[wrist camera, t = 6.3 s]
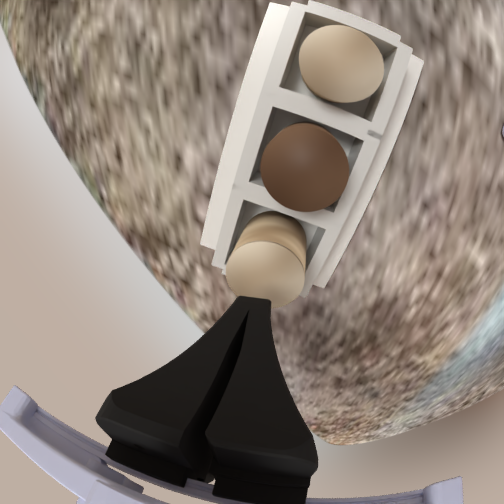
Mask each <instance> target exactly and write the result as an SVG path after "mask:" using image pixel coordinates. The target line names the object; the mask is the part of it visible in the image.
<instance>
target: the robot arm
mask: <svg viewBox="0 0 504 504" xmlns="http://www.w3.org/2000/svg"><path fill="white" fill-rule="evenodd" d="M502 134H503V137H504V126H503V130H502ZM271 303H272V302H271V301H270V300H269V299H263V298H255V297H247V296H238V297H237V298H236V300H235V301H234V302H233V304H232V305H231V306H230V307H229V309H228V310H227V311H226V312H225V313H224V314H223V316H222V317H221V318H220V319H219V320H218V321H217V322H216V323H215V324H214V325H213V326H212V327H211V328H210V329H209V330H208V331H207V332H206V333H205V334H204V335H203V336H202V337H201V338H200V339H199V340H198V341H196V342H195V343H194V344H193V345H192V346H191V347H189V348H188V349H187V350H186V351H184V352H183V353H182V354H180V355H179V356H178V357H176V358H175V359H173V360H172V361H170V362H169V363H167V364H166V365H164V366H162V367H161V368H159V369H157V370H156V371H154V372H152V373H150V374H148V375H146V376H144V377H143V378H141V379H139V380H137V381H134V382H132V383H130V384H127V385H125V386H123V387H120V388H117V389H115V390H112V391H111V393H110V394H109V395H108V397H107V398H106V400H105V402H104V403H103V405H102V407H101V408H100V410H99V412H98V414H97V416H96V422H97V424H98V425H99V426H100V427H101V428H102V429H103V430H104V431H105V432H106V433H107V434H108V435H109V436H110V437H111V438H112V441H111V443H110V445H109V447H106V446H104V445H102V444H100V443H98V442H97V441H94V440H93V439H91V438H89V437H87V436H85V435H84V434H82V433H80V432H78V431H76V430H75V429H73V428H71V427H70V426H68V425H66V424H64V423H63V422H61V421H60V420H58V419H56V418H55V417H54V416H52V415H51V414H49V413H48V412H46V411H44V410H43V409H42V408H40V407H39V406H38V405H37V403H36V402H35V401H34V400H33V399H32V398H31V397H30V396H29V395H27V394H26V393H25V392H24V391H22V390H21V389H20V388H18V387H17V386H16V385H14V386H13V388H12V389H11V391H10V392H9V393H8V395H7V396H6V398H5V400H4V401H3V402H2V404H1V405H0V429H1V431H2V432H3V433H4V434H5V435H6V436H7V437H9V439H10V440H12V442H13V443H14V444H15V445H17V447H19V448H20V449H21V450H22V451H23V452H24V453H25V454H26V455H27V456H28V457H29V458H30V459H31V460H32V461H33V462H35V463H36V464H37V465H38V466H39V467H40V468H42V469H43V470H44V471H45V472H46V473H48V474H49V475H50V476H51V477H53V478H54V479H55V480H56V481H58V482H59V483H60V484H62V485H63V486H64V487H66V488H67V489H68V490H70V491H71V492H73V493H74V494H76V495H77V496H78V497H79V498H78V501H77V503H76V504H168V503H165V502H163V501H160V500H157V499H155V498H152V497H149V496H147V495H144V494H142V492H143V489H144V488H143V487H142V486H140V485H138V484H136V483H134V482H133V481H131V480H129V479H128V478H127V477H125V476H124V475H122V474H121V473H119V472H117V471H115V470H113V469H111V468H109V467H108V465H111V466H113V467H115V468H117V469H119V470H121V471H123V472H125V473H128V474H130V475H132V476H135V477H137V478H139V479H142V480H144V481H147V482H149V483H152V484H154V485H157V486H160V487H163V488H166V489H168V490H172V491H174V492H178V493H181V494H184V495H188V496H191V497H195V498H198V499H202V500H205V501H209V502H214V503H218V504H463V486H462V477H461V476H458V477H455V478H452V479H448V480H444V481H440V482H437V483H434V484H431V485H429V486H427V487H425V488H424V489H420V490H416V491H410V492H404V493H397V494H390V495H382V496H372V497H360V498H334V499H333V498H332V499H331V498H306V497H307V490H308V488H309V486H310V479H311V476H312V475H313V474H314V472H315V471H316V470H317V468H318V456H317V450H316V447H315V443H314V439H313V435H312V433H311V432H310V430H309V428H308V427H307V425H306V423H305V422H304V420H303V418H302V416H301V414H300V413H299V411H298V409H297V407H296V405H295V403H294V400H293V398H292V396H291V394H290V391H289V389H288V387H287V384H286V382H285V379H284V376H283V374H282V371H281V368H280V364H279V361H278V357H277V354H276V350H275V345H274V341H273V335H272V329H271V319H270V317H271ZM107 464H108V465H107ZM214 479H215V480H216V481H215V484H214V485H212V484H208V483H210V482H211V481H213V480H214Z"/></svg>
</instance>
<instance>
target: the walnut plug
mask: <svg viewBox="0 0 504 504" xmlns="http://www.w3.org/2000/svg"><path fill="white" fill-rule="evenodd" d="M260 172H261V178H262V181H263V184H264V186H265V188H266V190H267V191H268V193H269V194H270V195H271V197H272V198H273V199H274V200H275V201H277V202H278V203H279V204H281V205H282V206H284V207H286V208H288V209H291V210H294V211H299V212H313V211H318V210H321V209H324V208H326V207H328V206H330V205H331V204H333V203H334V202H335V201H336V200H337V199H338V198H339V197H340V196H341V194H342V193H343V192H344V190H345V188H346V185H347V182H348V178H349V163H348V159H347V156H346V153H345V151H344V149H343V148H342V146H341V145H340V143H339V142H338V141H337V140H336V139H335V137H334V136H333V135H332V134H331V133H330V132H329V131H328V130H327V129H326V128H324V127H323V126H321V125H319V124H316V123H313V122H297V123H293V124H290V125H288V126H287V127H285V128H284V129H282V130H281V131H280V132H279V133H278V134H277V135H276V136H275V137H274V138H273V139H272V140H271V141H270V142H269V144H268V145H267V146H266V148H265V150H264V152H263V155H262V158H261V165H260Z"/></svg>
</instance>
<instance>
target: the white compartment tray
mask: <svg viewBox="0 0 504 504" xmlns="http://www.w3.org/2000/svg"><path fill="white" fill-rule="evenodd" d="M329 25H343V26H348V27H351V28H354V29H356V30H358V31H360V32H362V33H364V34H365V35H366V36H368V37H369V38H370V39H371V40H372V41H373V42H374V43H375V45H376V46H377V48H378V49H379V51H380V53H381V55H382V58H383V62H384V75H383V79H382V82H381V84H380V86H379V87H378V89H377V90H376V91H375V92H374V93H373V94H372V95H370V96H369V97H367V98H365V99H363V100H360V101H356V102H348V103H331V102H327V101H324V100H322V99H320V98H318V97H316V96H315V95H314V94H313V93H312V92H310V90H309V89H308V88H307V87H306V85H305V83H304V81H303V79H302V75H301V71H300V66H299V51H300V48H301V45H302V43H303V42H304V40H305V39H306V38H307V36H308V35H309V34H311V33H312V32H313V31H315V30H317V29H319V28H321V27H324V26H329ZM400 38H401V36H400V35H398V34H396V33H394V32H392V31H390V30H388V29H386V28H384V27H382V26H379V25H377V24H375V23H373V22H370V21H368V20H366V19H363V18H361V17H358V16H356V15H353V14H351V13H348V12H345V11H342V10H339V9H337V8H334V7H331V6H328V5H324V4H321V3H318V2H314V1H311V0H309V2H308V5H303V4H299V3H295V2H292V3H291V6H290V7H289V6H285V5H280V4H276V3H271V2H270V4H269V7H268V10H267V12H266V15H265V18H264V21H263V23H262V26H261V29H260V32H259V35H258V37H257V40H256V43H255V46H254V49H253V52H252V55H251V58H250V61H249V64H248V67H247V71H246V74H245V77H244V80H243V83H242V86H241V90H240V93H239V96H238V100H237V103H236V106H235V110H234V113H233V116H232V120H231V123H230V127H229V130H228V134H227V138H226V141H225V145H224V149H223V152H222V156H221V160H220V164H219V167H218V171H217V175H216V179H215V183H214V187H213V191H212V195H211V199H210V203H209V208H208V212H207V216H206V220H205V225H204V229H203V233H202V238H201V242H200V245H203V246H206V247H209V248H211V249H214V250H215V253H214V257H213V261H212V265H213V266H216V267H218V268H221V269H223V270H222V274H224V275H226V265H227V262H228V260H229V258H230V256H231V254H232V252H233V250H234V248H235V246H236V244H237V242H238V240H239V238H240V236H241V234H242V232H243V230H244V228H245V226H246V224H247V223H248V222H249V220H250V219H251V218H253V217H254V216H255V215H257V214H259V213H262V212H266V211H278V212H281V213H284V214H286V215H289V216H292V217H294V218H295V219H296V220H297V221H298V222H299V223H300V224H301V225H302V227H303V229H304V231H305V234H306V239H307V245H306V265H305V281H304V286H303V289H302V291H301V293H300V294H299V296H300V297H303V298H306V296H307V295H308V293H309V291H310V289H311V287H312V285H315V286H318V287H321V288H325V286H326V284H327V282H328V281H329V279H330V277H331V275H332V273H333V272H334V270H335V268H336V266H337V264H338V262H339V261H340V259H341V257H342V255H343V253H344V251H345V249H346V247H347V245H348V243H349V242H350V240H351V238H352V236H353V234H354V232H355V230H356V228H357V226H358V224H359V222H360V220H361V218H362V216H363V214H364V211H365V209H366V207H367V205H368V203H369V201H370V199H371V197H372V195H373V192H374V190H375V188H376V186H377V184H378V181H379V179H380V177H381V175H382V172H383V170H384V168H385V166H386V163H387V161H388V159H389V156H390V154H391V151H392V149H393V147H394V144H395V142H396V139H397V137H398V134H399V132H400V129H401V127H402V124H403V121H404V119H405V116H406V113H407V111H408V108H409V105H410V102H411V100H412V97H413V94H414V91H415V88H416V85H417V82H418V79H419V76H420V73H421V70H422V67H423V64H424V61H423V60H421V59H419V58H418V57H416V56H414V55H412V54H411V53H412V50H413V49H412V48H411V47H409V46H407V45H405V44H403V43H401V42H400ZM297 122H313V123H316V124H319V125H321V126H323V127H324V128H326V129H327V130H328V131H329V132H330V133H331V134H332V135H333V136H334V137H335V139H336V140H337V141H338V142H339V143H340V145H341V146H342V148H343V149H344V151H345V153H346V156H347V159H348V163H349V178H348V182H347V185H346V188H345V190H344V192H343V193H342V194H341V196H340V197H339V198H338V199H337V200H336V201H335V202H334V203H333V204H331V205H330V206H328V207H326V208H324V209H321V210H318V211H313V212H299V211H294V210H291V209H288V208H286V207H284V206H282V205H281V204H279V203H278V202H277V201H275V200H274V199H273V198H272V197H271V195H270V194H269V193H268V191H267V190H266V188H265V186H264V184H263V181H262V178H261V172H260V165H261V158H262V155H263V152H264V150H265V148H266V146H267V145H268V144H269V142H270V141H271V140H272V139H273V138H274V137H275V136H276V135H277V134H278V133H279V132H280V131H281V130H282V129H284V128H285V127H287V126H288V125H290V124H293V123H297Z"/></svg>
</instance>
